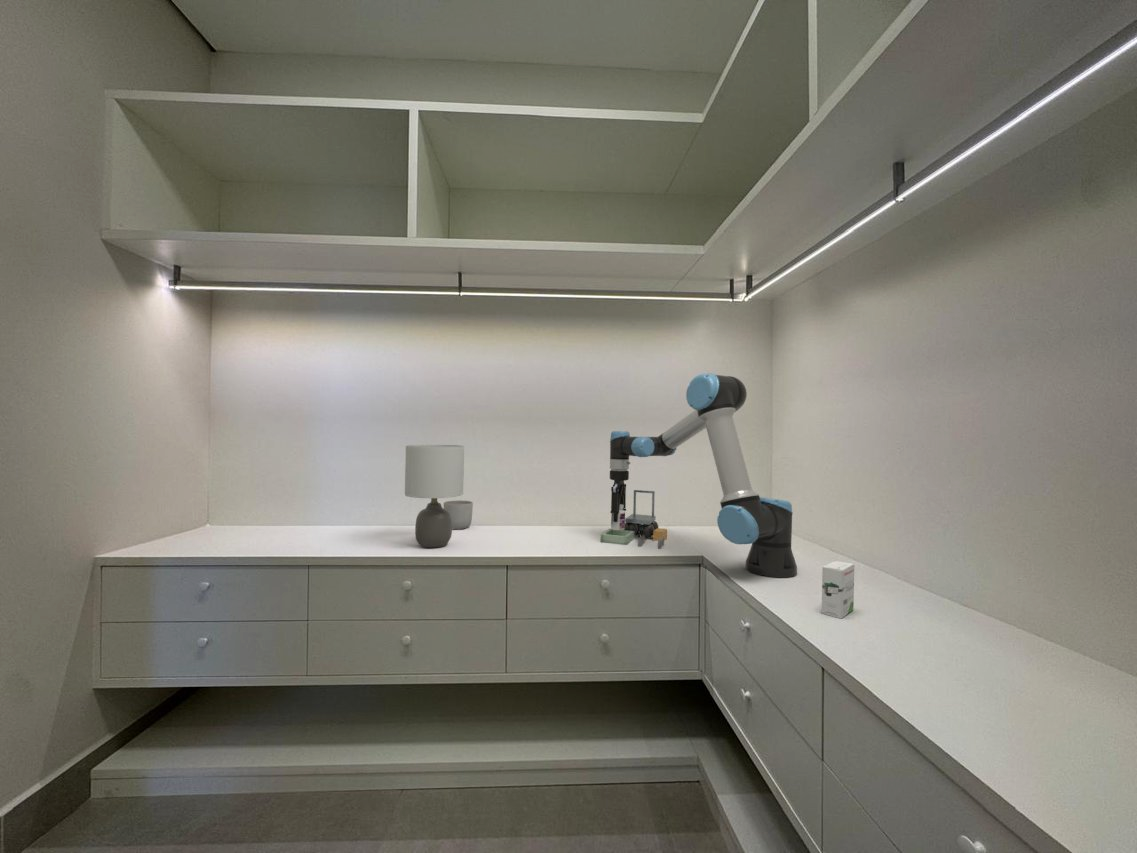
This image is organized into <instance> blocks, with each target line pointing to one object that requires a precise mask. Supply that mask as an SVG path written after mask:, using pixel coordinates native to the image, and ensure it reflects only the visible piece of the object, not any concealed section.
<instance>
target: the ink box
mask: <svg viewBox="0 0 1137 853" xmlns="http://www.w3.org/2000/svg"><path fill="white" fill-rule="evenodd" d="M821 573H822V577H821V583H822V585H821V614H823V615H827V616H829V617H834V618H837V619H843V618H844V617H846V616H847V615H849V614H850V613H851V612H853V611H854V604H855V602H854V600H855V599H854V598H855V596H854V594H855V564H854V563H852V562H846V561H845V562H843V561H836V560H833V561H832V562H830V563H828V564H825V565H823V566H822V572H821Z"/></svg>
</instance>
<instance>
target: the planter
mask: <svg viewBox="0 0 1137 853" xmlns="http://www.w3.org/2000/svg"><path fill="white" fill-rule="evenodd" d="M473 506H474V502H473V501H471V500H460V499H459V500H448V501H444V502H443V508H444V509H446V510H447V511H448V512H449V513H450V516H451V521H452V530H465V529H468V528H469V527H470V526H471V525H472V518H473Z"/></svg>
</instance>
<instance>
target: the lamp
mask: <svg viewBox="0 0 1137 853" xmlns="http://www.w3.org/2000/svg"><path fill="white" fill-rule="evenodd" d="M464 460H465V446H464V445H457V444H456V445H455V444H408V445H407V444H406V445H405V462H404V463H405V466H404V467H405V468H404V470H405V471H404V472H405V473H404V496H405V497H409V498H415V499H416V498H417V499H431V500H430V502H428V503H427V505H426V507H425V508H423V509H421V510H420V511H419V512H418V514H417V516H416V519H415V520H416V521H415V530H414V531H415V533H414V536H415V540H416V542H417V544H418V545H419V546H420V547H422V548H427V549H435V548H441V547H444V546H446V545H447V544H448V543H449V541H450V540H451V538H452V536H453V535H452V532H453V529H452V521H451V516H450V513H449V512H448V511H447V510H446V509H444V507H443V505H442V504H441V503H440V502H439V501H438V499H448V498H449V499H450V498H456V497H460V496H462V495H464V470H465V465H464V464H465V461H464Z"/></svg>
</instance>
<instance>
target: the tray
mask: <svg viewBox="0 0 1137 853" xmlns="http://www.w3.org/2000/svg"><path fill="white" fill-rule="evenodd" d="M635 536H636V534H635V531H629V530H612V529H611V528H609V529H607V530H606V531H604V532H603V533H601V534H600V543H603V544H604V543H605V544H613V545H615V544H616V545H623V546H624V545H625V546H627V545H629V544H630V543H631V542H632V541H633V540H635Z"/></svg>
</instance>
